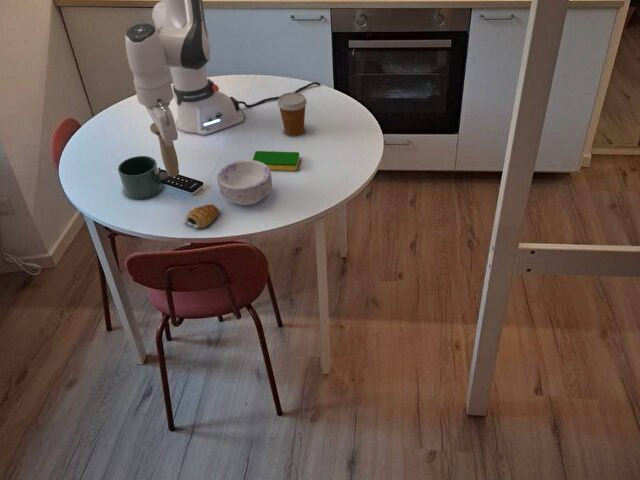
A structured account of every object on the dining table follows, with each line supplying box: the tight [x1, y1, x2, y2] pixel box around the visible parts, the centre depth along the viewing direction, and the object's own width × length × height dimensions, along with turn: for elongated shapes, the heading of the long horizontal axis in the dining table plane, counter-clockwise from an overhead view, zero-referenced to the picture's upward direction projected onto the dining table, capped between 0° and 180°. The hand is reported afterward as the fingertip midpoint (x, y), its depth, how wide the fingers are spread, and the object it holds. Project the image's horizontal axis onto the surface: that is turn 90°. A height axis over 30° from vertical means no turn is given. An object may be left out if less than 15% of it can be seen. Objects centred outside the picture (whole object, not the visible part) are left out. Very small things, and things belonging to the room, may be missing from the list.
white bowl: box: [216, 159, 273, 206], centre depth 176 cm, size 15×15×8 cm
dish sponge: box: [252, 150, 301, 172], centre depth 191 cm, size 7×14×2 cm, turn 86°
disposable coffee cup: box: [277, 91, 308, 137], centre depth 202 cm, size 10×10×12 cm
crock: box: [117, 155, 163, 200], centre depth 179 cm, size 11×11×8 cm
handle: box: [149, 122, 180, 177], centre depth 166 cm, size 5×6×15 cm
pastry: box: [184, 204, 219, 229], centre depth 169 cm, size 9×7×4 cm
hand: (165, 140), depth 164 cm, fingers closed on handle, 4 cm apart
